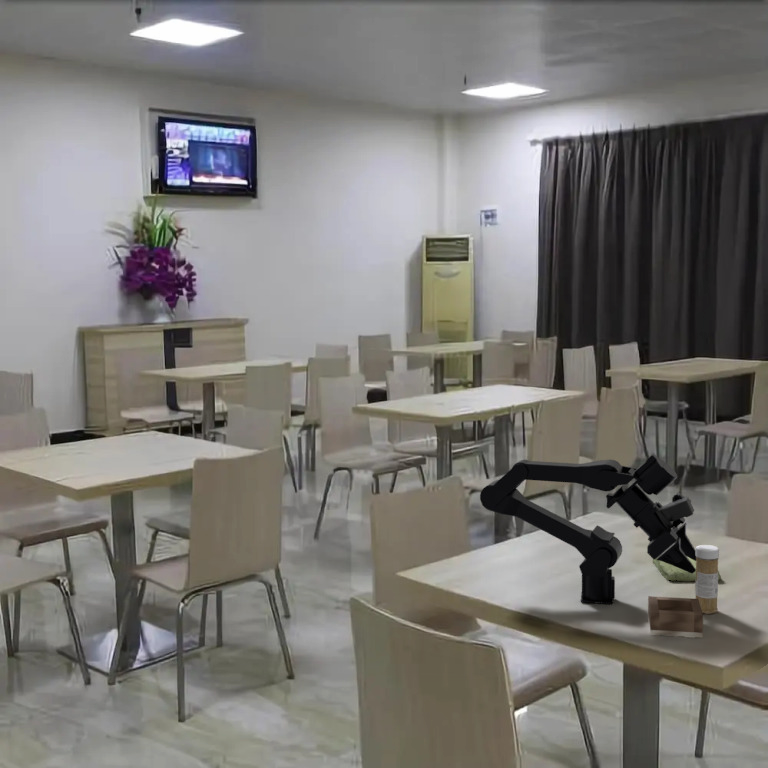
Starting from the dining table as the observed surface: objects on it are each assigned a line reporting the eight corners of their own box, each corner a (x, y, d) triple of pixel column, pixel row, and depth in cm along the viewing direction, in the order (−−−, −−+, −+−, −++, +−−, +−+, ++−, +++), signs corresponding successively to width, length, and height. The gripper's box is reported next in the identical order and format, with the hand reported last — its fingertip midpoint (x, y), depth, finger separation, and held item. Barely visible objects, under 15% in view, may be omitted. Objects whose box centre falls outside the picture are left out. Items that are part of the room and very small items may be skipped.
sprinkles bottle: (700, 605, 205) (701, 542, 204) (721, 610, 202) (722, 546, 201) (690, 611, 202) (691, 547, 200) (711, 616, 199) (713, 551, 197)
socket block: (650, 634, 189) (650, 612, 189) (648, 617, 199) (648, 596, 198) (702, 637, 187) (703, 615, 187) (697, 620, 196) (698, 598, 196)
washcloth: (705, 562, 238) (705, 549, 237) (723, 584, 220) (723, 570, 220) (650, 561, 239) (650, 548, 239) (663, 584, 222) (663, 570, 221)
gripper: (664, 493, 193) (723, 553, 190) (674, 475, 211) (728, 529, 208) (623, 529, 197) (680, 588, 194) (637, 508, 214) (689, 562, 211)
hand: (696, 565), depth 202 cm, fingers open, 9 cm apart
